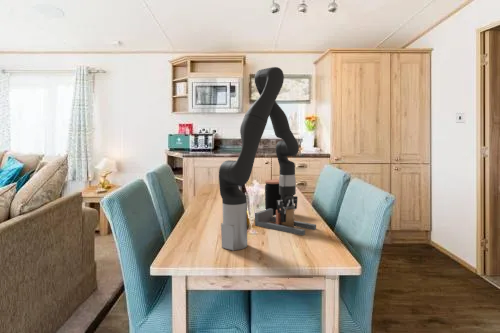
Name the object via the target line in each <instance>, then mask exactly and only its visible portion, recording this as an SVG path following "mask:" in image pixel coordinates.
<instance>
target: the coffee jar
mask: <svg viewBox="0 0 500 333" xmlns="http://www.w3.org/2000/svg"><path fill="white" fill-rule="evenodd" d="M264 183H265V185H264V200H265V201H264V204H265V205H264V207H265V208H264V210H265V209H269V208H271V209H273V216H275V215H276V210H277V200H281V195H280V194H279V179H267V180H264Z"/></svg>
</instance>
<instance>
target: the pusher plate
mask: <svg viewBox="0 0 500 333" xmlns="http://www.w3.org/2000/svg"><path fill="white" fill-rule="evenodd" d="M280 210H281V209H280ZM273 217H276V222H275V224H278V225H281V214H280V213H278V211H277V210H276V215H273Z"/></svg>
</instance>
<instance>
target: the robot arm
mask: <svg viewBox="0 0 500 333" xmlns="http://www.w3.org/2000/svg"><path fill="white" fill-rule="evenodd" d="M284 76H285V75H284V72H283V70H282V69H281V68H280V67H277V66H272V67H268V68H263V69H258V70H257V72H255V75H254V85H255V88H256V90H257V92H258V94H259V97H258V98H257V99H256V100H255V101H254V103H252V104H251V106H250V107H249V108H248V110H246V112H245V115H244V117H243V119H242V122H241V124H240V130H239V131H240V132H239V133H240V139H241V149H240V152H239V155H238V158H237V160H229V159H227V160H224V161H223V162H222V163H221V165H220V166H219V170H218V181H219V182H218V183H219V184H218V185H219V196H220V198H221V200H222V223H220V230H221V232H220V233H221V237H220V238H221V248H222V249H226V250H229V251H238V250H243V249H246V248H247V247H248V220H247V219H248V216H247V215H248V214H247V211H248V210H247V208H248V207H247V195H246V194H245V193H244V192H243V191H242V190H241V189H240V187H241V186H245V185H246V184H247V183H248V182H249V180H250V177H251V175H252V172H253V167H254V163H255V159H256V156H257V155H256V154H257V153H258V152H257V151H258V149H259V145H260V142H261V139H262V138H263V137H262V136H263V134H264V132H265V129H266V126H267V124H268V120H269V119H270V123H271V125H272V129H273V132H274V136H275V137H276V138H278V139H280V140H279V141H277V142H276V145H275V154H276V157H277V162H278V165H279V177H278V180H279V194H280V195H281V200H277V211H278V213H280V214H281V222H286V210H287V207H288V206H291V205H294V212H295V210H297V209H298V196H295V195H296V191H297V190H296V188H297V186H296V183H297V181H296V180H297V179H296V178H297V177H296V164H295V162H294V161H292V160H289V158H288V157H296V156H297V155H298V154H299V150H300V146H299V143H298V140H297V139H296V137H295V136H294V134H293V132H292V130H291V126H290V123H289V120H288V117H287V115H286V113H285V112H284V110H283V109H282V108H281V107H280V105H279V104H278V103H277V101H276V99H277V98H278V97H279V94H280V92H281V90H282V87H283V86H284V85H283V84H284V80H285V77H284ZM283 206H285V207H283ZM280 209H281V210H280ZM283 209H284V211H283Z"/></svg>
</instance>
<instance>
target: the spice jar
mask: <svg viewBox="0 0 500 333" xmlns="http://www.w3.org/2000/svg"><path fill="white" fill-rule="evenodd" d="M294 205H295V204H294ZM294 205H291V206H288V207H287V210H286V222H281V225H283V226H288V227H294V228H295V226H294V221H295V211H294ZM283 207H285V206H283ZM283 211H284V209H283Z"/></svg>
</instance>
